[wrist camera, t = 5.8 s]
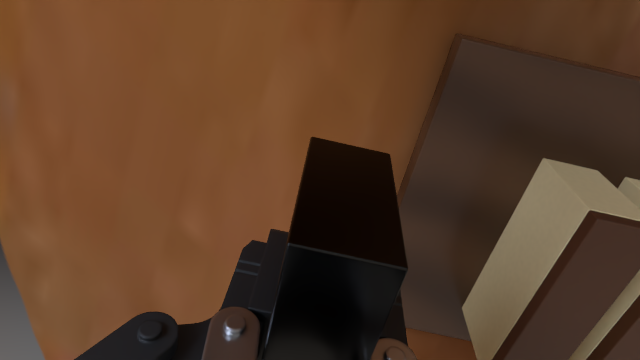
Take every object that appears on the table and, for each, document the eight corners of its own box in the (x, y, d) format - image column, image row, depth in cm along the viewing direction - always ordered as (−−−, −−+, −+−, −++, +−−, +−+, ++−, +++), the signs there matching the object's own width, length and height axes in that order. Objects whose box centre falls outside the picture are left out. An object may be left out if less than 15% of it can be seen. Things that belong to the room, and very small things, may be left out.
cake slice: (543, 157, 23) (598, 219, 18) (597, 170, 23) (668, 235, 18) (461, 307, 29) (484, 387, 24) (505, 317, 29) (538, 398, 24)
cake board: (455, 32, 22) (462, 38, 20) (778, 110, 22) (804, 120, 21) (358, 302, 31) (358, 317, 30) (584, 350, 32) (594, 367, 31)
